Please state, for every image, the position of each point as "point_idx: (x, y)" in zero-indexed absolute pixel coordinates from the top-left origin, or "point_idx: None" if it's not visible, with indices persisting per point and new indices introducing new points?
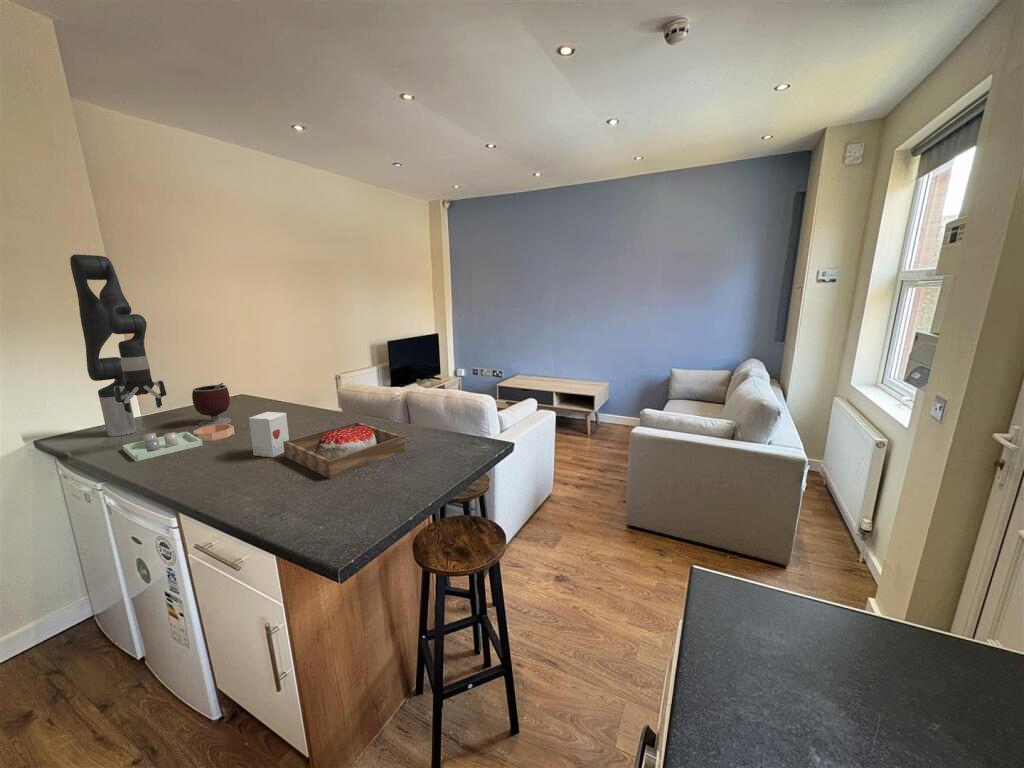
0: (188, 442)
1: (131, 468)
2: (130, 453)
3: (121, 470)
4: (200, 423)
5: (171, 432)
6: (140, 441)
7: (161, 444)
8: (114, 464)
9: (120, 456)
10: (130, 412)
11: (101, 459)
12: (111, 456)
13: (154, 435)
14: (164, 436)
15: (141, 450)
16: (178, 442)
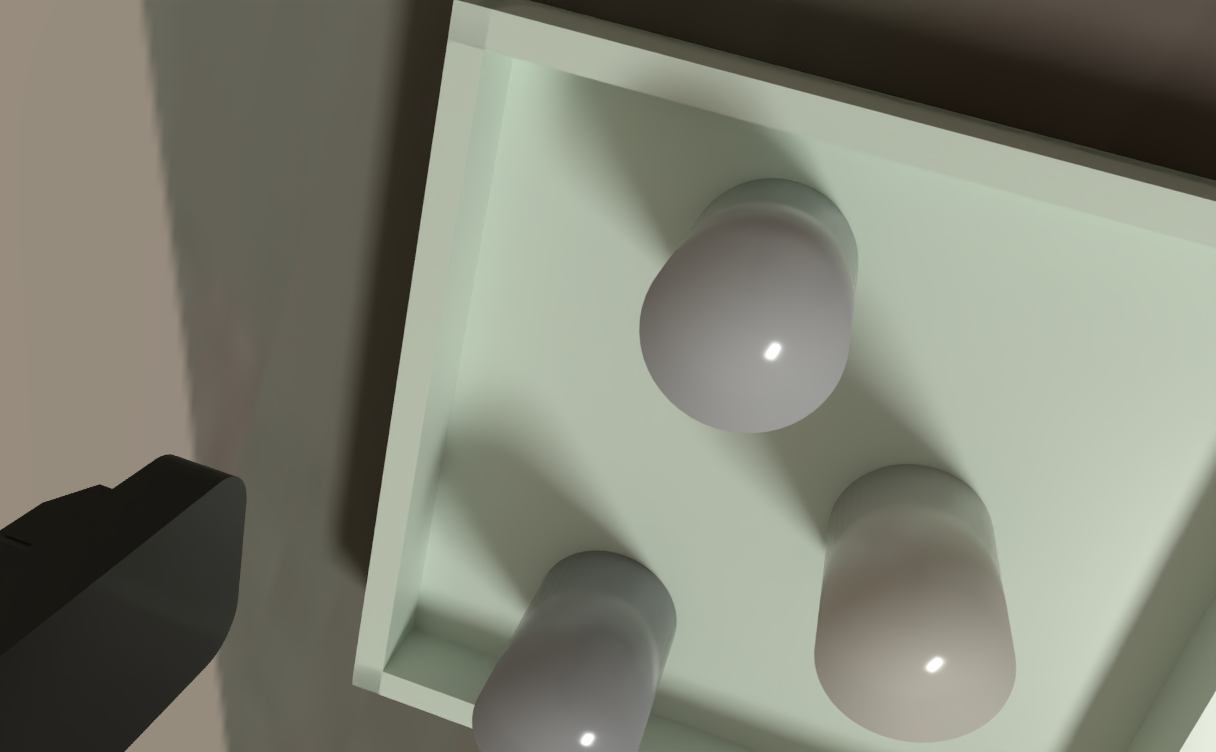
0: (1117, 619)
1: (328, 692)
2: (385, 499)
3: (259, 653)
4: None
5: (987, 613)
6: (699, 81)
7: (901, 302)
8: (274, 406)
9: (412, 150)
10: (209, 625)
11: (240, 28)
12: (350, 17)
13: (784, 417)
14: (817, 635)
15: (603, 307)
16: (1070, 470)
